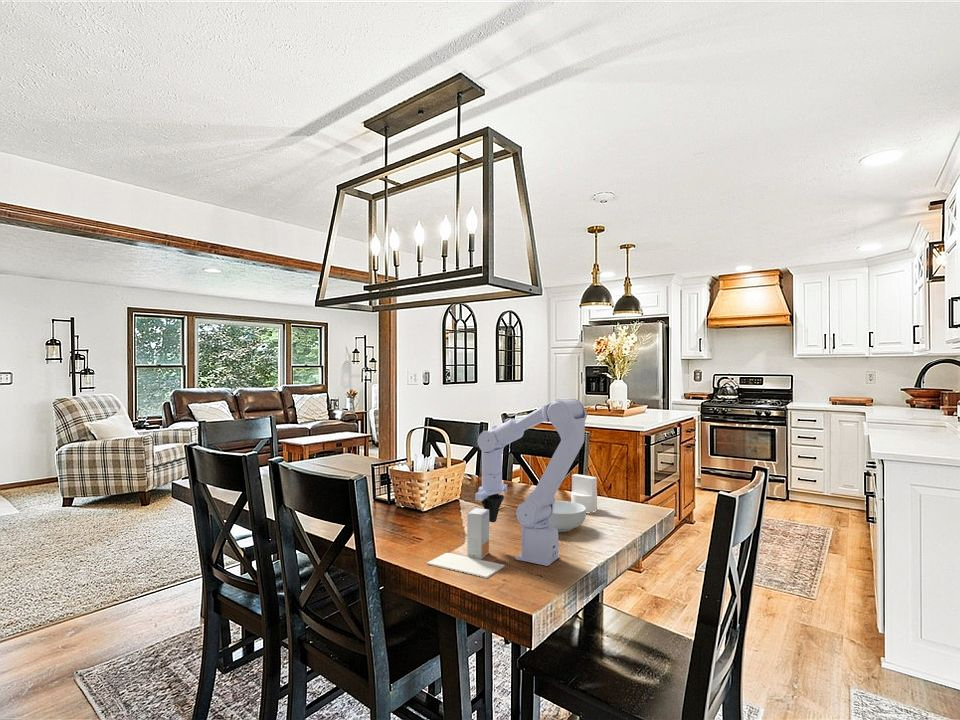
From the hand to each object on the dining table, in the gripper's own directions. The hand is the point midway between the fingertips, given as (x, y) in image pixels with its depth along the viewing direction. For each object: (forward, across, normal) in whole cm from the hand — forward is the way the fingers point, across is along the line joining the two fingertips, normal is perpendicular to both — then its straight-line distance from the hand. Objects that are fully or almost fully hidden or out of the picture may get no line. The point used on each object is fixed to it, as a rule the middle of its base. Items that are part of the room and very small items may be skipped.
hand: (491, 521), depth 153 cm
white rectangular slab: (+7, +15, +1) cm, 17 cm away
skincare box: (+8, +7, 0) cm, 10 cm away
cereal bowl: (+8, -27, +9) cm, 29 cm away
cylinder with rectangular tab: (+8, -52, +8) cm, 53 cm away
